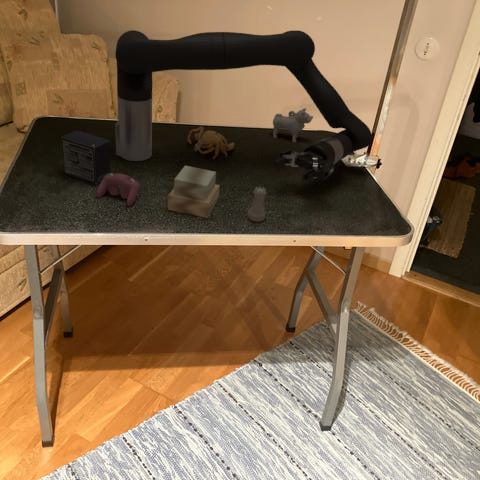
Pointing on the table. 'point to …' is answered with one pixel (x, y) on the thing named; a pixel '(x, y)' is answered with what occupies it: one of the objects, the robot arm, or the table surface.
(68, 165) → the small box
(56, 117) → the table surface
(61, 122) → the table surface
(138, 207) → the table surface
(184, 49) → the robot arm
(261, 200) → the rook chess piece
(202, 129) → the crab model
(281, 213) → the table surface
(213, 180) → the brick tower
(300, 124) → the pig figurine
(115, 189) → the video game controller
